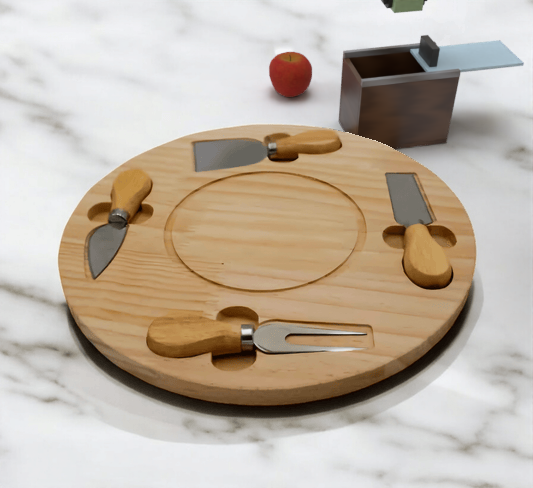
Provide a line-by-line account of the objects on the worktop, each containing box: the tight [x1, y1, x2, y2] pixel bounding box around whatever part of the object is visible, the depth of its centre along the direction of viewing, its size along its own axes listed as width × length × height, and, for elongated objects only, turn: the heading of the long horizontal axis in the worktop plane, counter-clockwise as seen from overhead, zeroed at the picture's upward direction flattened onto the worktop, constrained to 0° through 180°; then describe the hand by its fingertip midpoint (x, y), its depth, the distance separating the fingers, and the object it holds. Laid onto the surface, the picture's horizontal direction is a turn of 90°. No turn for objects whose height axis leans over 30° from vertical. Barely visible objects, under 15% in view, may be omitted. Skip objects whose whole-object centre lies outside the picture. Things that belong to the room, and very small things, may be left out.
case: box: [338, 41, 462, 150], centre depth 107 cm, size 16×11×13 cm
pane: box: [410, 34, 524, 73], centre depth 103 cm, size 16×8×4 cm, turn 101°
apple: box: [268, 51, 313, 98], centre depth 119 cm, size 8×8×8 cm
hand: (403, 4), depth 98 cm, fingers closed on block, 4 cm apart
